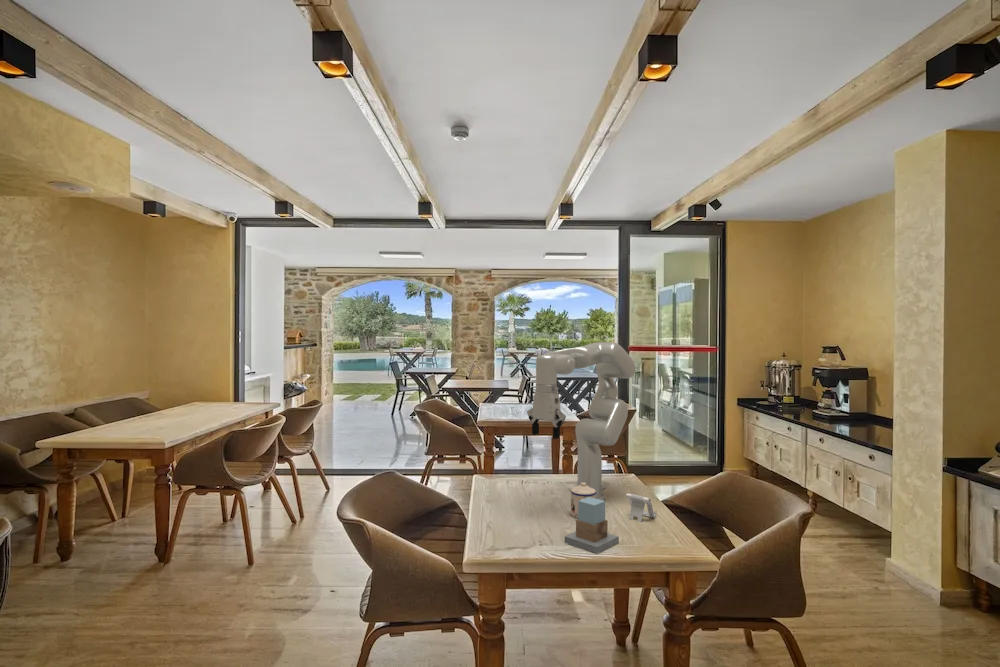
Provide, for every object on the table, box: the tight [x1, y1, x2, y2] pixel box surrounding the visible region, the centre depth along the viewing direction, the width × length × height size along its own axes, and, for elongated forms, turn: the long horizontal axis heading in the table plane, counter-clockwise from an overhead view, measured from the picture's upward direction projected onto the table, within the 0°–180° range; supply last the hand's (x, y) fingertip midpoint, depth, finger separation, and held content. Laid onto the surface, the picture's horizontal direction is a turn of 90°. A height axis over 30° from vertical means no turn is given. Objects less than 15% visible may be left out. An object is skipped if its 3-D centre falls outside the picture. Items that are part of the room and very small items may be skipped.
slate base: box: [564, 530, 620, 555], centre depth 164 cm, size 12×12×2 cm
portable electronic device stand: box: [625, 492, 658, 523], centre depth 188 cm, size 9×8×8 cm
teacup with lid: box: [570, 482, 596, 519], centre depth 188 cm, size 12×9×12 cm
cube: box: [577, 497, 606, 525], centre depth 164 cm, size 6×6×6 cm
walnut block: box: [575, 519, 608, 542], centre depth 164 cm, size 7×7×5 cm
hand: (545, 436), depth 190 cm, fingers open, 9 cm apart
